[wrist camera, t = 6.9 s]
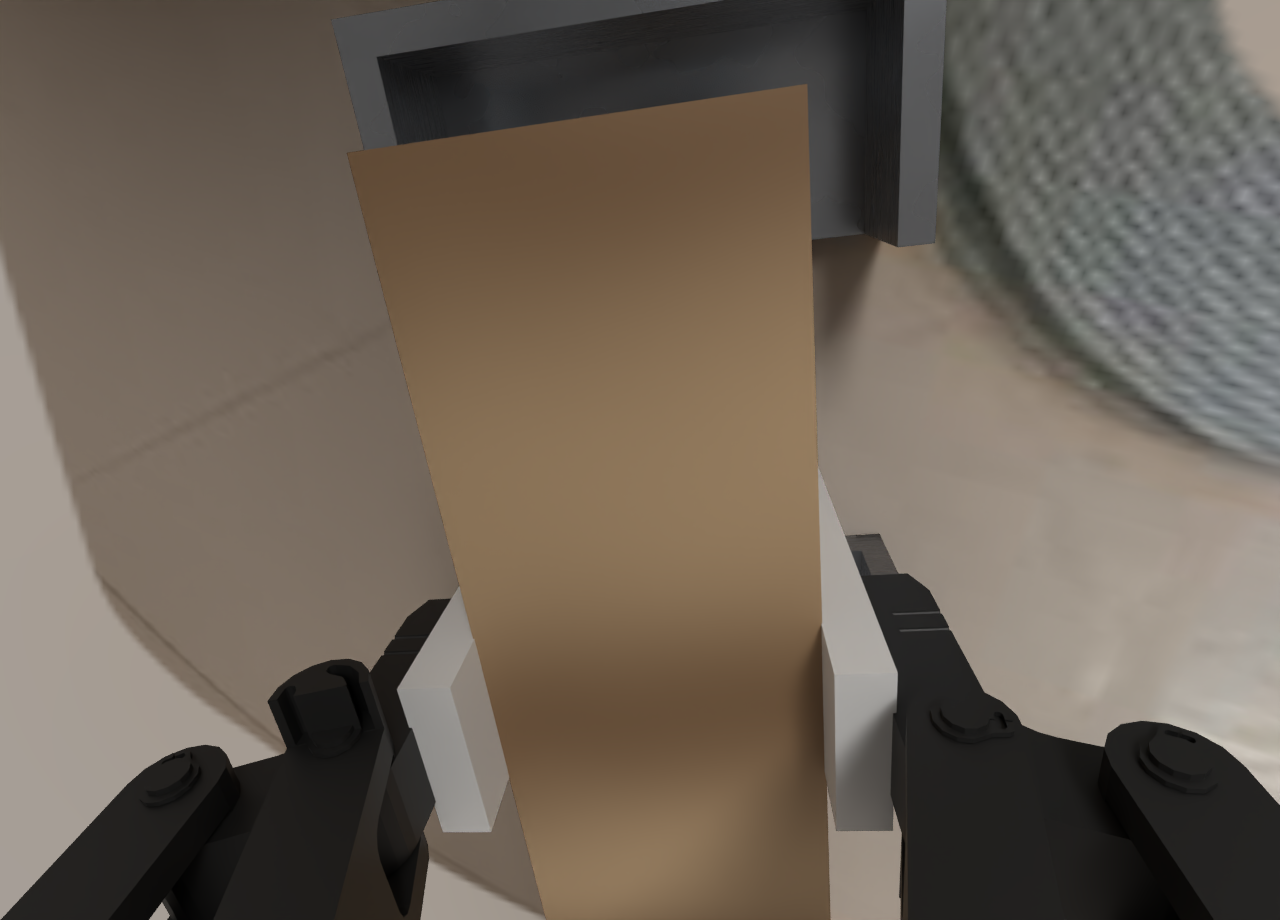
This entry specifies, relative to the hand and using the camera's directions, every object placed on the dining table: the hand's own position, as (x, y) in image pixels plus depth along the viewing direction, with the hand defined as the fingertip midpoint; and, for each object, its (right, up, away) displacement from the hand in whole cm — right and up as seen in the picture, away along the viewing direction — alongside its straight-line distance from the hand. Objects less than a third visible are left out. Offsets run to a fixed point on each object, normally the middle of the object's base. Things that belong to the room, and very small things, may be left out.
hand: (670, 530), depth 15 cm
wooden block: (0, 0, +1) cm, 1 cm away
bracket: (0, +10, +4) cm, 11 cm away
